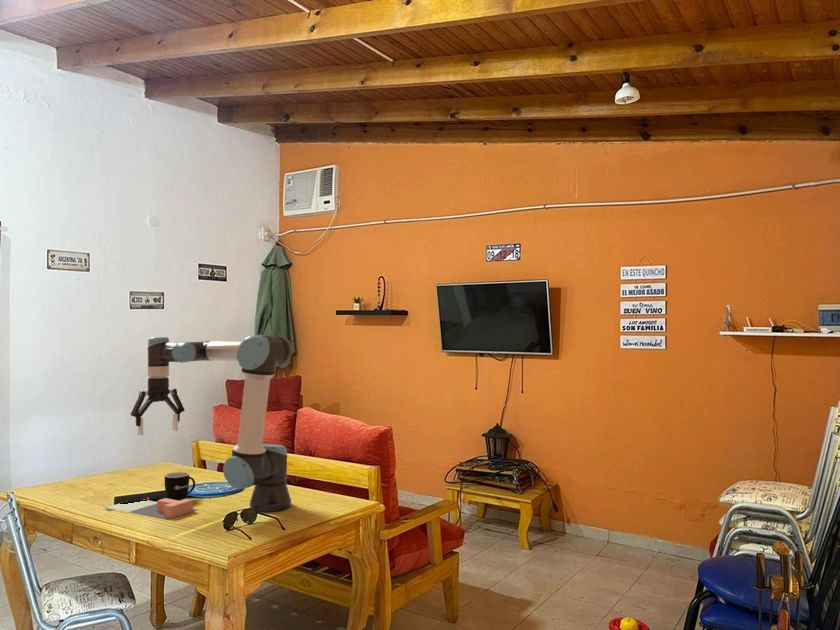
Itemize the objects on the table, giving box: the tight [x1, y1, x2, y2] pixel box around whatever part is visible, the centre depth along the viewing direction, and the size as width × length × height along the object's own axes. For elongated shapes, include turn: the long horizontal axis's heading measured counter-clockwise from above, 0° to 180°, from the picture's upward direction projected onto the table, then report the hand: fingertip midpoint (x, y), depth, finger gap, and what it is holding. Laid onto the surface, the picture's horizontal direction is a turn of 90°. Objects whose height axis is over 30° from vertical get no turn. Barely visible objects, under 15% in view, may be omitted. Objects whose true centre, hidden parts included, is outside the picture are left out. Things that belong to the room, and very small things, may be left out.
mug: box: [164, 471, 196, 501], centre depth 249 cm, size 12×9×10 cm
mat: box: [105, 499, 198, 521], centre depth 235 cm, size 32×14×1 cm, turn 63°
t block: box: [156, 497, 194, 519], centre depth 230 cm, size 10×10×4 cm
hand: (158, 432), depth 248 cm, fingers open, 13 cm apart
